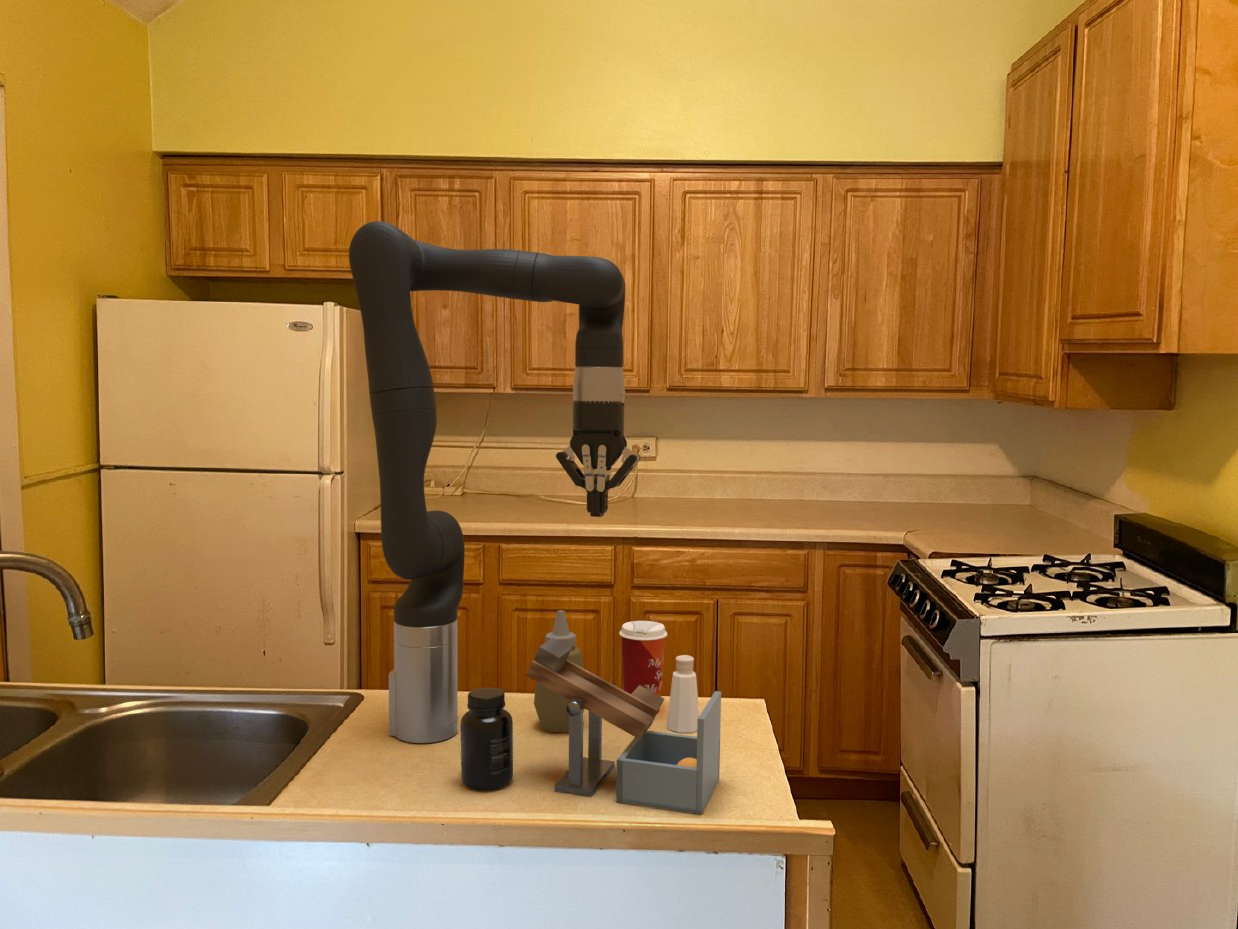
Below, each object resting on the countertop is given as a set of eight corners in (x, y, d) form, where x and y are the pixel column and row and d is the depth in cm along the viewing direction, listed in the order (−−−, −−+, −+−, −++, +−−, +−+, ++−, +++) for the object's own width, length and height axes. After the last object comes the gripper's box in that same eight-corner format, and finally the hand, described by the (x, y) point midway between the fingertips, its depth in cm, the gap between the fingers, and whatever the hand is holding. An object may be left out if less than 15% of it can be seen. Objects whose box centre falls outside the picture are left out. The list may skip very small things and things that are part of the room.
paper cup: (661, 721, 148) (663, 633, 147) (613, 717, 149) (615, 630, 148) (669, 704, 156) (670, 621, 154) (623, 701, 157) (624, 618, 156)
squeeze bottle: (522, 727, 145) (523, 611, 143) (559, 713, 151) (560, 602, 149) (560, 740, 139) (561, 620, 138) (597, 726, 145) (598, 611, 144)
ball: (675, 797, 120) (667, 766, 120) (682, 784, 124) (675, 755, 124) (705, 793, 119) (697, 762, 119) (711, 781, 123) (704, 751, 123)
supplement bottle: (511, 769, 128) (511, 683, 127) (514, 791, 122) (515, 700, 121) (460, 772, 127) (460, 685, 126) (460, 794, 121) (460, 702, 120)
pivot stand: (553, 792, 122) (554, 700, 121) (580, 761, 131) (581, 676, 130) (590, 797, 120) (591, 704, 119) (614, 766, 130) (616, 680, 129)
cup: (616, 802, 119) (617, 709, 118) (640, 768, 129) (641, 683, 128) (701, 815, 116) (703, 719, 115) (719, 779, 126) (721, 691, 125)
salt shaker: (660, 730, 144) (662, 659, 143) (672, 719, 149) (673, 650, 148) (694, 735, 142) (696, 664, 141) (705, 724, 147) (707, 654, 146)
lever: (525, 675, 124) (537, 648, 123) (559, 650, 136) (570, 625, 135) (639, 739, 120) (652, 711, 119) (664, 708, 132) (676, 682, 131)
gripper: (547, 398, 136) (546, 517, 138) (635, 399, 133) (633, 522, 134) (565, 397, 144) (564, 510, 145) (649, 399, 140) (647, 515, 141)
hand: (597, 516), depth 139 cm, fingers closed
